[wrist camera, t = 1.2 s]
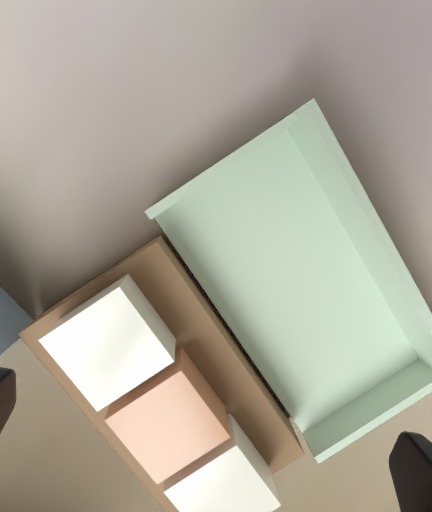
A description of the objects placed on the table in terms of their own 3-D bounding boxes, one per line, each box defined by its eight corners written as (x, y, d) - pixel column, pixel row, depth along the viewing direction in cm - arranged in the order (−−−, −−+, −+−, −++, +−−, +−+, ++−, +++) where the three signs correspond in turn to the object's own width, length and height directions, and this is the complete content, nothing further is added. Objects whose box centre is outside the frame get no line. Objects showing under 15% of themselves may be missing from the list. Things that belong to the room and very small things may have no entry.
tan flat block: (182, 488, 23) (182, 531, 20) (41, 313, 20) (17, 334, 17) (289, 419, 23) (304, 453, 20) (160, 234, 20) (157, 241, 17)
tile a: (207, 505, 20) (211, 550, 17) (166, 453, 19) (163, 492, 17) (269, 466, 20) (281, 505, 17) (229, 412, 19) (236, 445, 17)
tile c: (108, 382, 18) (97, 411, 16) (58, 319, 17) (38, 340, 15) (175, 338, 18) (174, 361, 16) (128, 273, 17) (119, 286, 15)
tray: (304, 434, 23) (329, 484, 19) (149, 208, 20) (140, 212, 16) (424, 357, 23) (474, 392, 19) (288, 116, 20) (313, 97, 16)
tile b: (160, 446, 19) (157, 484, 17) (114, 389, 18) (104, 420, 16) (224, 405, 19) (230, 437, 16) (181, 346, 18) (181, 370, 16)
